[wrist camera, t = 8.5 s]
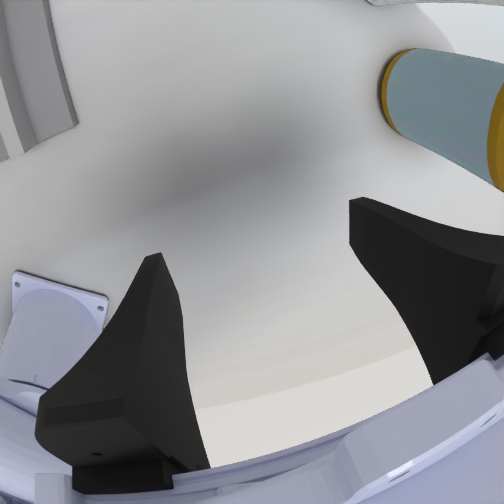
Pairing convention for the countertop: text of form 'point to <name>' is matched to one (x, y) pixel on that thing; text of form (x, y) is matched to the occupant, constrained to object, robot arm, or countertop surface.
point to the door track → (30, 78)
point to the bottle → (449, 108)
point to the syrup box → (387, 0)
